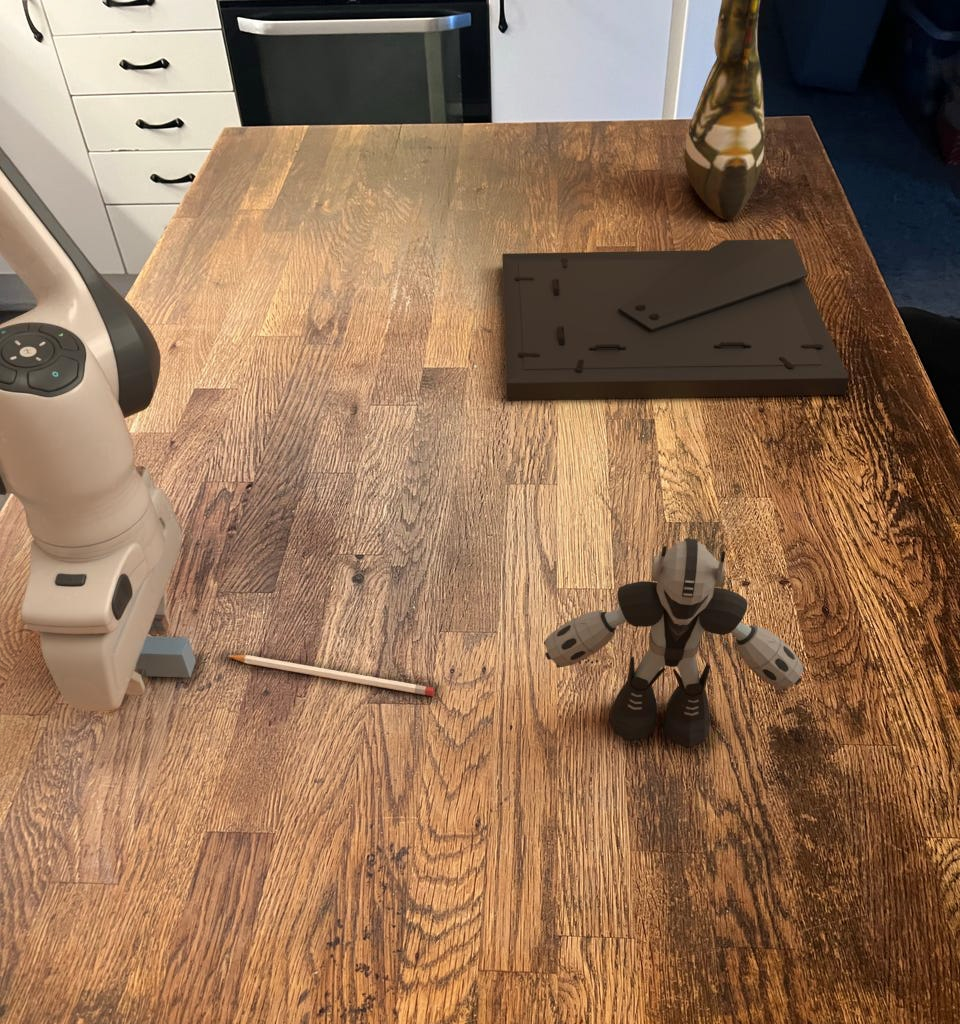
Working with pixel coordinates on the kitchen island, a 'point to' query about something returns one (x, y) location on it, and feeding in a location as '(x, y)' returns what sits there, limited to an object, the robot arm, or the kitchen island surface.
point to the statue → (729, 116)
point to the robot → (675, 642)
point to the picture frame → (666, 325)
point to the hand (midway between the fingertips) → (148, 658)
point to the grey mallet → (167, 657)
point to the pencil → (335, 674)
